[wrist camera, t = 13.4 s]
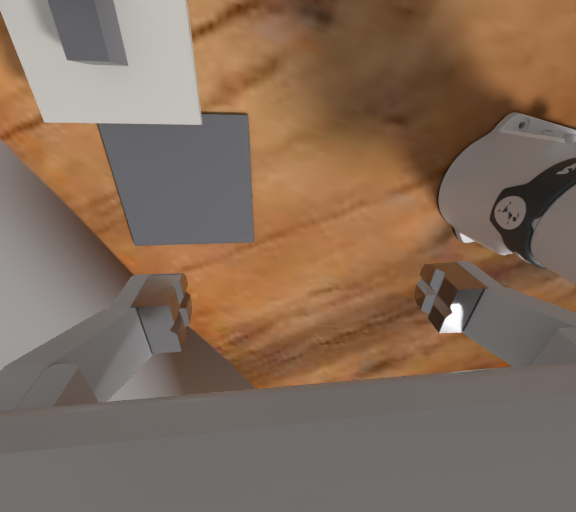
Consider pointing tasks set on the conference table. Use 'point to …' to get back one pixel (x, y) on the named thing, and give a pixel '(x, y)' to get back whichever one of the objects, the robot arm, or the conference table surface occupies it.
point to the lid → (107, 59)
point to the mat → (184, 180)
